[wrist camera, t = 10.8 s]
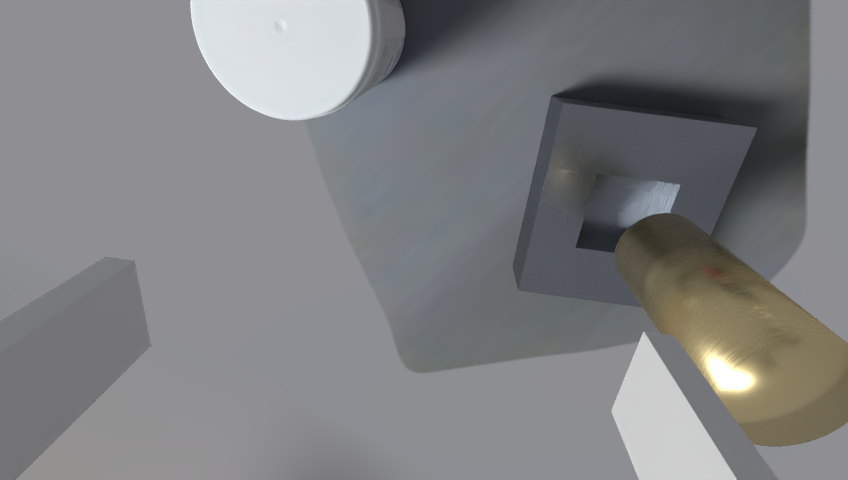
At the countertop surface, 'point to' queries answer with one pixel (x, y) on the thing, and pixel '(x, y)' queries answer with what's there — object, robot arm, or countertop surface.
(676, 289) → the cream rounded cylinder
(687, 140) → the housing
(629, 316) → the countertop surface
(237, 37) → the supplement tub
